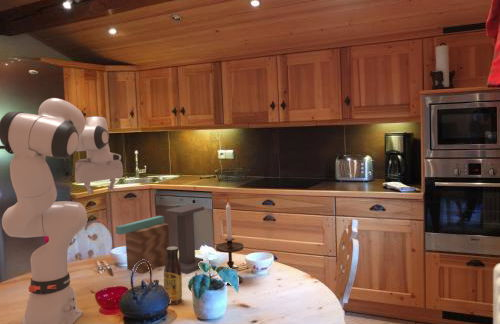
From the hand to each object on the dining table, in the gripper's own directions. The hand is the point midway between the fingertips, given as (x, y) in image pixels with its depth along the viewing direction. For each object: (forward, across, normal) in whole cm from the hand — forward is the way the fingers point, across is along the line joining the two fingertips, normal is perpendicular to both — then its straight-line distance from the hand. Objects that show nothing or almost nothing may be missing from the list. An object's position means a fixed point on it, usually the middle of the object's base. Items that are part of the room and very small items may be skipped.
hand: (100, 191), depth 183 cm
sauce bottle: (+37, 0, -39) cm, 54 cm away
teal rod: (+19, +19, 0) cm, 27 cm away
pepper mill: (+37, -7, +27) cm, 46 cm away
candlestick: (+37, +27, -43) cm, 63 cm away
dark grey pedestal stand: (+37, +30, -15) cm, 50 cm away
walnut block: (+37, +22, 0) cm, 43 cm away
